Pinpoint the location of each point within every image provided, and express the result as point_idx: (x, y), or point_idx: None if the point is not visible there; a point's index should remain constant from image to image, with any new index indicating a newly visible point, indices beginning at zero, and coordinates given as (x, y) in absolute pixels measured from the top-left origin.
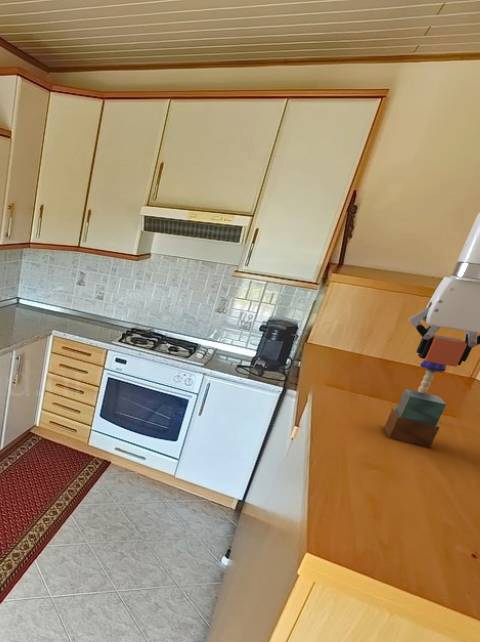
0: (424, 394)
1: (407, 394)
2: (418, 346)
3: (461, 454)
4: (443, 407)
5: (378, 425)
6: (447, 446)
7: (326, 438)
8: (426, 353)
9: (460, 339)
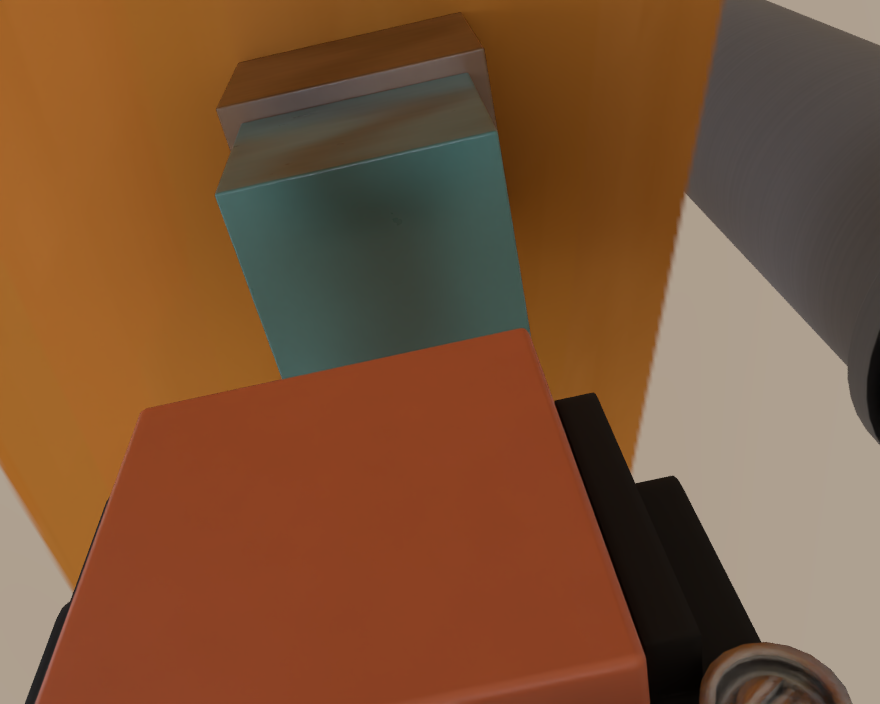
0: (380, 216)
1: (268, 335)
2: (43, 669)
3: (650, 147)
4: None
5: (199, 42)
6: (594, 59)
7: None
8: None
9: (635, 699)
